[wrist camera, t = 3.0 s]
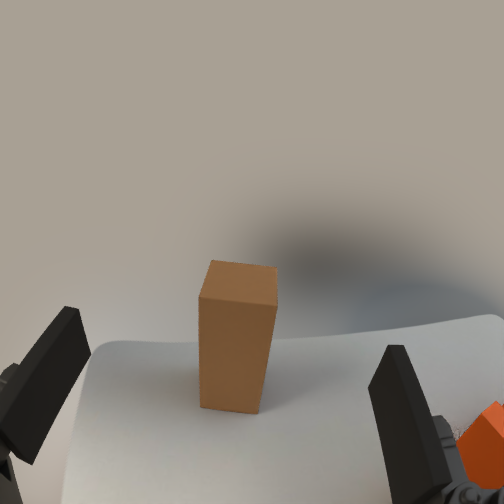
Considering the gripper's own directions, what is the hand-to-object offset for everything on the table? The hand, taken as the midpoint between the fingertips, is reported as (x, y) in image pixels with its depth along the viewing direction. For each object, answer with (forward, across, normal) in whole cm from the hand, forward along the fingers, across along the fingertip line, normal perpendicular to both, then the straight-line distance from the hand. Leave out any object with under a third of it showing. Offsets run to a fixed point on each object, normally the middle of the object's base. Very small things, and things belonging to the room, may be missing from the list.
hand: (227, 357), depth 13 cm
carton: (+10, 0, -14) cm, 17 cm away
